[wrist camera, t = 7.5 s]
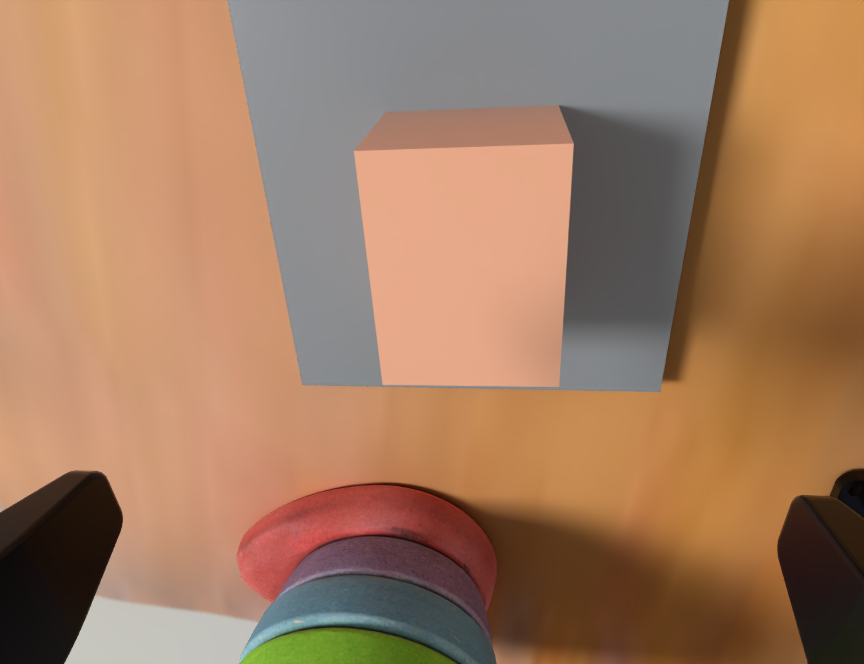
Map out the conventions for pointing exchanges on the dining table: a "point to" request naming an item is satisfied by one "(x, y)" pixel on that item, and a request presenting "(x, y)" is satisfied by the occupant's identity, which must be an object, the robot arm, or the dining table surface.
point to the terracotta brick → (467, 243)
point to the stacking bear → (370, 580)
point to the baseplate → (486, 88)
